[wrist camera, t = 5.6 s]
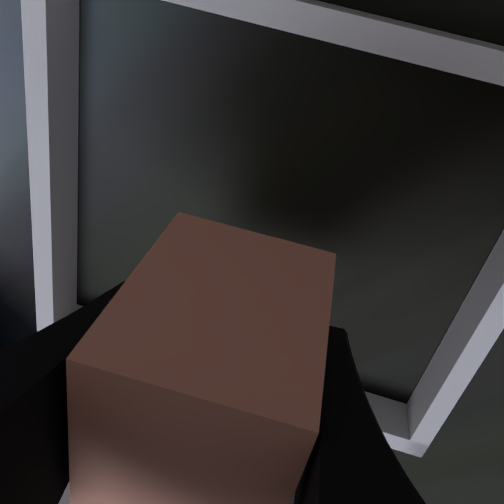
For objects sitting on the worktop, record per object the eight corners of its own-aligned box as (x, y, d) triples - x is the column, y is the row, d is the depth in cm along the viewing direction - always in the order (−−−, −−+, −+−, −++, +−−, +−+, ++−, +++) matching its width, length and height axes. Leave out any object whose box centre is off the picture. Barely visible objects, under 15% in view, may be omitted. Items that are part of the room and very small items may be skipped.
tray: (620, 75, 14) (655, 89, 12) (417, 420, 22) (421, 457, 21) (56, -64, 15) (17, -69, 14) (61, 312, 23) (37, 338, 22)
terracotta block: (336, 253, 13) (318, 432, 8) (297, 369, 15) (265, 565, 10) (178, 211, 13) (65, 358, 8) (164, 332, 16) (70, 503, 11)
